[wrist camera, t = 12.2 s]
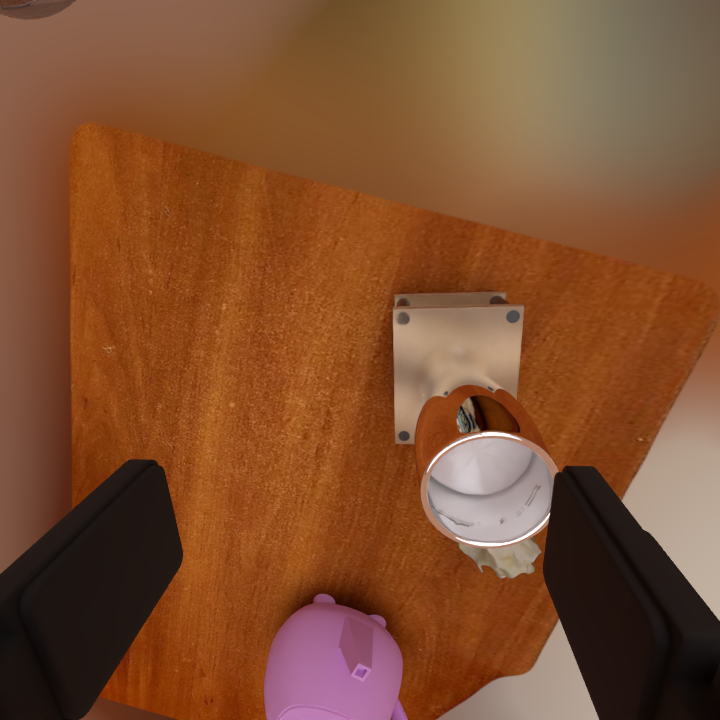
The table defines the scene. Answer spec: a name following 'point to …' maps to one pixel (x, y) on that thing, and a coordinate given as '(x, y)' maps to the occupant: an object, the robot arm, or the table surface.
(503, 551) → the fruit
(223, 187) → the table surface
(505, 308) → the rack
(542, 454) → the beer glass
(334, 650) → the teapot
